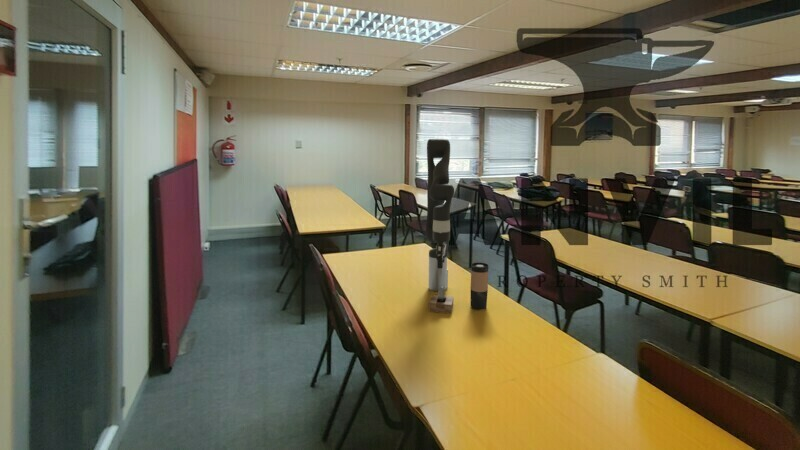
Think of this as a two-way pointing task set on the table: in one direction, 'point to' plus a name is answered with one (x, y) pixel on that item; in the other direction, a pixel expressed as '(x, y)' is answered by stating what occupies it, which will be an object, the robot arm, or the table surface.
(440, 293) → the pin
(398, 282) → the table surface
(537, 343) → the table surface
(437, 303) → the slot block
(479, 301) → the travel mug
